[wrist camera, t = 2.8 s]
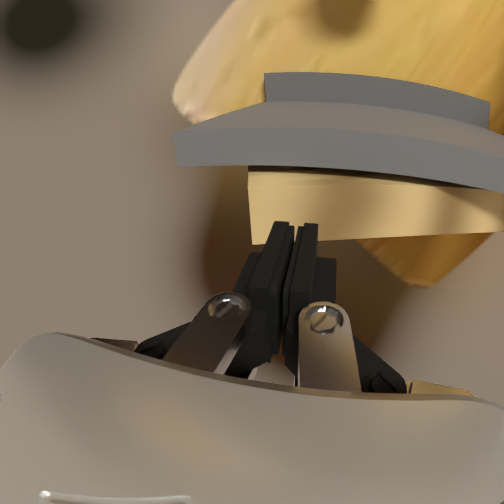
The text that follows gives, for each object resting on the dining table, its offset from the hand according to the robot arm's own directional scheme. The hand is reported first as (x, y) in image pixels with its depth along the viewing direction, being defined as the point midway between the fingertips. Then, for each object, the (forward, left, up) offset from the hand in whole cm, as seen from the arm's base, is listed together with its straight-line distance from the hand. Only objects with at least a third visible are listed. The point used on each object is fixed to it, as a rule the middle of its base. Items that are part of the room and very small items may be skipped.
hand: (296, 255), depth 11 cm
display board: (-9, -3, -31) cm, 32 cm away
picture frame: (-4, 0, -23) cm, 23 cm away
